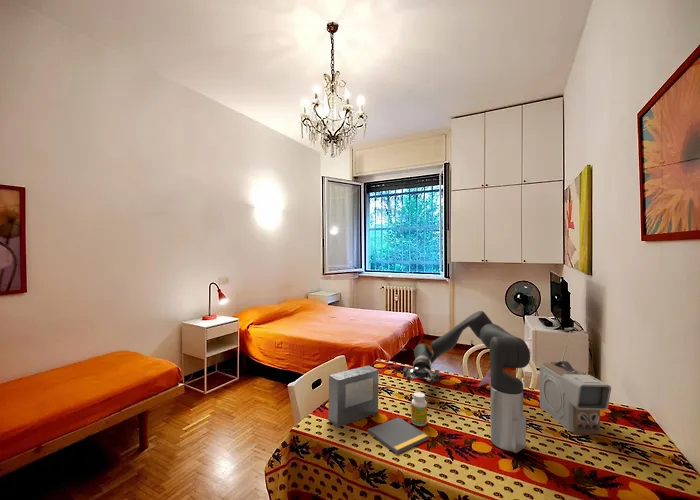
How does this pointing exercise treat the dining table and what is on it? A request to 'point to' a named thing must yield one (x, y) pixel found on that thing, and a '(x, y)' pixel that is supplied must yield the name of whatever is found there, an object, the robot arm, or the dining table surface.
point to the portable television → (572, 396)
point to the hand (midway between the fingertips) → (419, 380)
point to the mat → (398, 435)
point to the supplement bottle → (419, 409)
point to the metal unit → (353, 395)
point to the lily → (486, 379)
